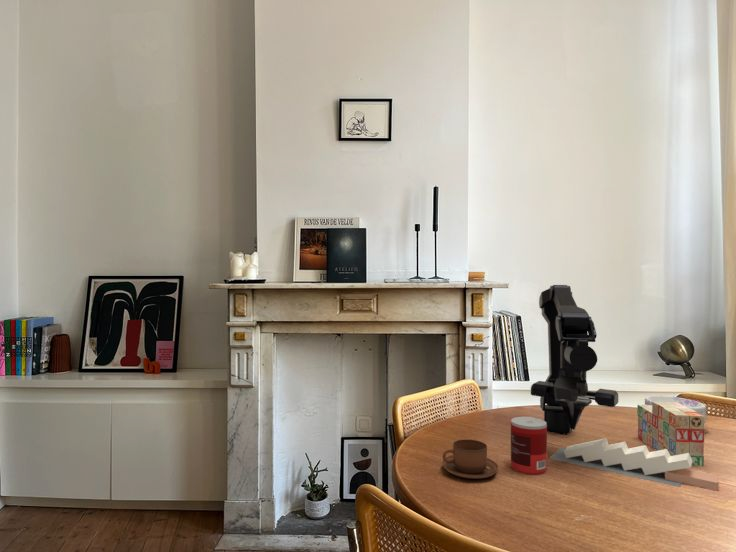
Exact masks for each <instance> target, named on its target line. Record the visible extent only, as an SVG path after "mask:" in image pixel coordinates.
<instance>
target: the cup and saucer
mask: <svg viewBox="0 0 736 552" xmlns="http://www.w3.org/2000/svg"><path fill="white" fill-rule="evenodd" d="M449 453H451V454H452V455H450V456H447V454H449ZM446 456H447V457H446ZM441 463H442V466H443V468H444V469H445V470H446V471H447V472H448V473H449V474H451V475H454V476H456V477H459V478H464V479H470V480H472V479H473V480H477V479H479V480H480V479H486V478H490V477H491V476H493V475H494V474H495V473H497V472H498V468H499V466H498V463H496V461H494V460H492V459H491V458H488V446H487V444H486V443H485V442H483V441H480V440H476V439H458V440H455V441H454V442H453V443H452V449H451V448H450V449H446V450H445V451H444V452H443V454H442V462H441Z"/></svg>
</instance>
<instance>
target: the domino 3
mask: <svg viewBox="0 0 736 552" xmlns="http://www.w3.org/2000/svg"><path fill="white" fill-rule="evenodd" d="M649 452H650V451H649V448H648V445H646V444H645V445H640V446H639V445H638V446H635V447H630V448H629V447H628V450H627V452H626V453H625V455H620V456H615V457H610V458H604V459H601V460H602V462H603V464H604V466H609V465H614V464H620V463H625V462H630V461H636V460H641V459H646V458H647V456H648V454H649Z"/></svg>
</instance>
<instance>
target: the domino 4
mask: <svg viewBox="0 0 736 552" xmlns="http://www.w3.org/2000/svg"><path fill="white" fill-rule="evenodd" d="M669 459H670V454H669V452H668V450H667V449H664V450H659V451H657V450H654V451H653V450H652V451H649V454H648V456H647V458H646V459H641V460H636V461H630V462H625V463H621V464H622V467H623V469H624V471H625V470H631V469H637V468H642V467H648V466H654V465H659V464H665V463H668V462H669Z"/></svg>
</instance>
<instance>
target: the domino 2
mask: <svg viewBox="0 0 736 552" xmlns="http://www.w3.org/2000/svg"><path fill="white" fill-rule="evenodd" d="M628 449H629V447H628V445H627V441H621V442H616V443H612V444H609V446H608V447H607V448H606V450H605V451H601V452H595V453H590V454H585V455H582V457H583V459H584V462H588V461H594V460H599V459H604V458H610V457H615V456H620V455H625V453H626V452H627V450H628Z"/></svg>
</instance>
